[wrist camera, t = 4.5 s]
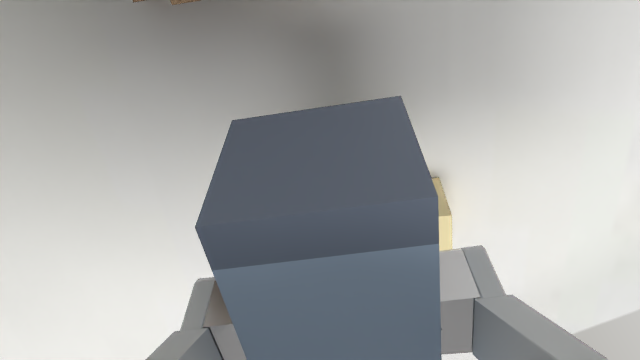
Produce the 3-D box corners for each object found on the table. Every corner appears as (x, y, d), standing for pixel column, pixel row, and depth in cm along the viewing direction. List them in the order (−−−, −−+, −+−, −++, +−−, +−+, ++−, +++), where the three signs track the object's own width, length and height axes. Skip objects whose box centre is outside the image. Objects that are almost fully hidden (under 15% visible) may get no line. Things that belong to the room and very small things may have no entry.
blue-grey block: (294, 336, 15) (287, 464, 12) (232, 120, 11) (194, 227, 8) (415, 323, 15) (443, 451, 12) (400, 95, 11) (438, 196, 7)
